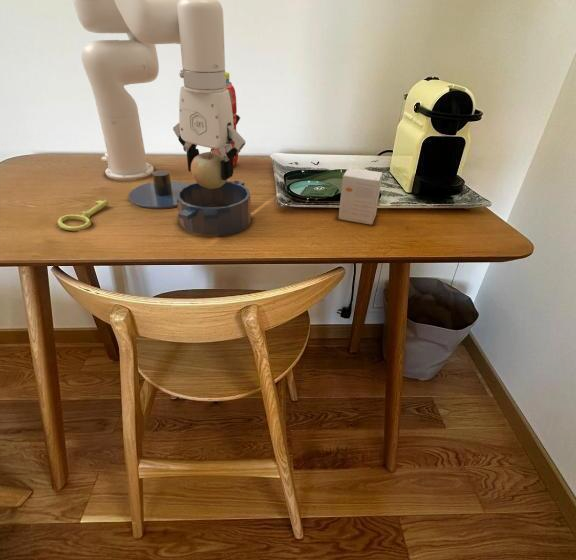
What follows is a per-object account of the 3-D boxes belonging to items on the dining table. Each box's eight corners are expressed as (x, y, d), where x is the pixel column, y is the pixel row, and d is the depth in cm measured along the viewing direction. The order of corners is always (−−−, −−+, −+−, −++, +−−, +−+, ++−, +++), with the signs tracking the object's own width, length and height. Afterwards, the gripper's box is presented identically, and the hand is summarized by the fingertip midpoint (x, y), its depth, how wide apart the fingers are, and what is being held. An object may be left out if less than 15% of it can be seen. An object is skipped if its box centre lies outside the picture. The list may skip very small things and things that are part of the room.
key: (111, 207, 91) (109, 198, 90) (86, 232, 81) (83, 223, 80) (80, 205, 92) (78, 197, 90) (51, 230, 81) (48, 221, 80)
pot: (156, 231, 83) (151, 202, 79) (214, 197, 98) (212, 172, 95) (217, 249, 78) (215, 220, 74) (268, 211, 93) (268, 185, 89)
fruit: (224, 178, 88) (223, 141, 83) (232, 191, 83) (231, 153, 78) (189, 181, 86) (186, 143, 81) (195, 194, 80) (192, 155, 76)
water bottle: (222, 156, 125) (216, 67, 111) (246, 159, 123) (244, 69, 109) (206, 168, 115) (199, 72, 101) (233, 172, 114) (228, 75, 100)
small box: (376, 215, 93) (383, 172, 87) (372, 225, 89) (380, 180, 83) (342, 209, 95) (348, 166, 89) (337, 219, 91) (342, 174, 85)
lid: (114, 201, 94) (108, 176, 91) (161, 180, 106) (157, 157, 103) (168, 217, 88) (164, 191, 85) (211, 193, 101) (209, 169, 97)
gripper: (153, 76, 72) (165, 170, 83) (233, 90, 66) (236, 189, 77) (179, 72, 78) (188, 160, 88) (256, 84, 72) (255, 177, 82)
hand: (210, 173), depth 82 cm, fingers closed on fruit, 7 cm apart
